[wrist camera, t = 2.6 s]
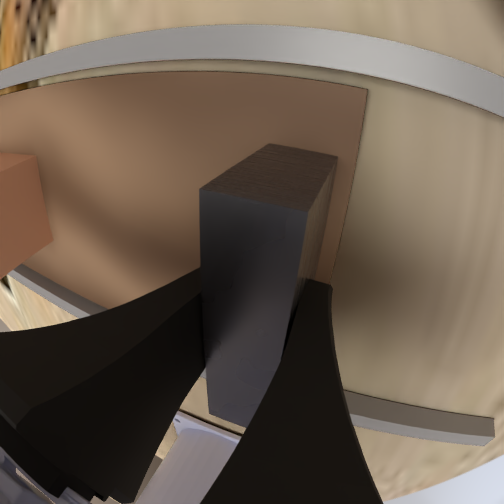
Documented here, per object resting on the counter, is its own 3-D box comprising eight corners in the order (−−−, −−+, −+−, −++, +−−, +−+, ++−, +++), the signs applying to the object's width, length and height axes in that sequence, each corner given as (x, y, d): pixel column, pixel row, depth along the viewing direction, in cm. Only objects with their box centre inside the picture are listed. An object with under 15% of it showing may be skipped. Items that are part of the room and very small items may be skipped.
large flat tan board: (302, 374, 14) (270, 457, 11) (5, 248, 21) (-34, 276, 17) (367, 89, 8) (359, 96, 4) (-25, 103, 14) (-76, 123, 10)
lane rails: (483, 428, 12) (484, 446, 11) (5, 258, 22) (-4, 265, 21) (638, 169, 4) (656, 181, 3) (-30, 86, 14) (-43, 90, 13)
